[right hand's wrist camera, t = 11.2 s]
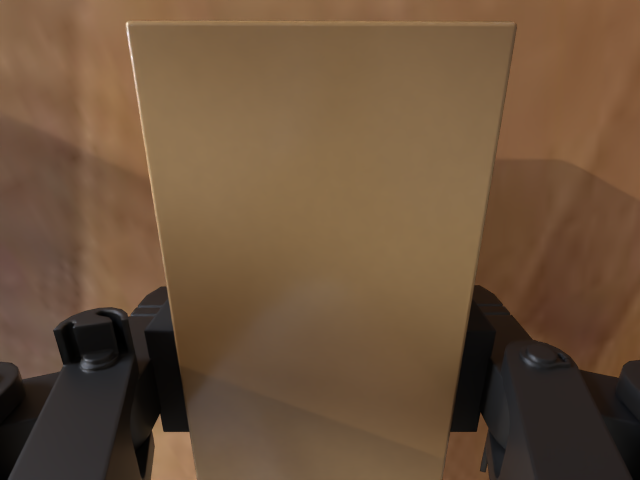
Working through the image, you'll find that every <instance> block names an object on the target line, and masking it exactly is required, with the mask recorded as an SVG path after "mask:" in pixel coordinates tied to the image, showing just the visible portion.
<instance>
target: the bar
mask: <svg viewBox="0 0 640 480" xmlns="http://www.w3.org/2000/svg"><path fill="white" fill-rule="evenodd" d="M516 29H517V25H516V23H514V22H497V21H168V20H130V21H128V22H126V32H127V38H128V44H129V51H130V57H131V63H132V70H133V76H134V82H135V89H136V95H137V102H138V108H139V114H140V121H141V127H142V133H143V140H144V146H145V152H146V159H147V165H148V171H149V178H150V184H151V190H152V197H153V203H154V209H155V216H156V222H157V228H158V235H159V241H160V247H161V254H162V260H163V266H164V273H165V279H166V286H167V292H168V298H169V305H170V311H171V317H172V324H173V330H174V336H175V343H176V349H177V355H178V362H179V368H180V374H181V381H182V387H183V393H184V400H185V406H186V412H187V419H188V425H189V431H190V438H191V444H192V450H193V457H194V463H195V470H196V476H197V480H442V478H443V471H444V465H445V459H446V453H447V447H448V441H449V435H450V429H451V423H452V417H453V411H454V405H455V399H456V393H457V387H458V381H459V375H460V369H461V362H462V356H463V350H464V344H465V338H466V332H467V326H468V320H469V314H470V308H471V302H472V296H473V290H474V284H475V278H476V272H477V266H478V260H479V253H480V247H481V241H482V235H483V229H484V223H485V217H486V211H487V205H488V199H489V193H490V187H491V181H492V175H493V169H494V163H495V157H496V151H497V144H498V138H499V132H500V126H501V120H502V114H503V108H504V102H505V96H506V90H507V84H508V78H509V72H510V66H511V60H512V54H513V48H514V42H515V35H516Z"/></svg>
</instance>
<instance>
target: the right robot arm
mask: <svg viewBox="0 0 640 480" xmlns="http://www.w3.org/2000/svg"><path fill="white" fill-rule="evenodd" d="M53 331H54V335H55V338H56V341H57V345H58V348H59V352H60V355H61V358H62V362H63V367H62V369H61V371H60V372H57V373H52V374H47V375H42V376H37V377H32V378H27V379H22V378H21V375H20V372H19V369H18V367H17V366H15V365H14V364H13V363H8V362H0V480H151V472H152V464H153V456H154V448H155V445H154V438H153V433H152V429H153V427H154V425H155V422H156V420H157V418H158V416H159V414H160V415H161V420H162V426H163V431H164V432H190V431H189V425H188V419H187V412H186V406H185V400H184V393H183V387H182V381H181V374H180V368H179V362H178V355H177V349H176V343H175V336H174V330H173V324H172V317H171V311H170V305H169V298H168V292H167V287H160V288H158V289H156V290H155V291H153V292H151V293H150V294H148V295H147V296H146V297H145V298H144V299H143V300H142V302H141V303H140V304H139V305H138V308H136V309H135V310H134V311H133V312H132V313H131V316H129V317H128V315H127V313H126V312H125V311H123V310H122V309H117V308H112V307H109V308H97V309H92V310H87V311H84V312H81V313H79V314H76V315H73V316H71V317H69V318H68V319H66V320H64V321H63V322H61V323H60V324H59V325H58V326H57V327H56V328H55V329H54V330H53ZM480 412H481V414H482V416H483V418H484V420H485V422H486V424H487V426H488V428H489V429H488V433H487V438H486V443H485V448H484V452H483V457H482V462H481V468H480V471H482V472H486V468H487V464H488V471H489V479H490V480H640V360H636V361H629V362H628V363H626V364H625V365H623V368H622V371H621V373H620V376H619V378H617V377H612V376H607V375H602V374H597V373H592V372H587V371H583V370H579V369H578V367H577V365H576V363H575V362H574V361H573V360H572V358H571V357H570V356H569V355H567V354H566V353H564V352H563V351H561V350H560V349H558V348H556V347H554V346H551V345H549V344H547V343H543V342H539V341H535V340H533V339H532V338H531V337H530V336H529V335H528V334H527V332H526V331H525V330H524V329H523V328H522V327H521V325H520V324H519V323H518V322H517V321H516V319H515V318H514V317H513V316H512V315H510V312H509V311H508V310H507V309H506V308H505V307H504V306H503V304H502V303H501V302H500V301H499V299H498V298H497V297H496V296H495V295H494V294H493V293H491V292H490V291H488V290H486V289H485V288H483V287H481V286H480V285H474V290H473V296H472V302H471V308H470V314H469V320H468V326H467V332H466V338H465V344H464V350H463V356H462V362H461V369H460V375H459V381H458V387H457V393H456V399H455V405H454V411H453V417H452V423H451V429H450V432H477V427H478V422H479V417H480Z"/></svg>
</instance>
